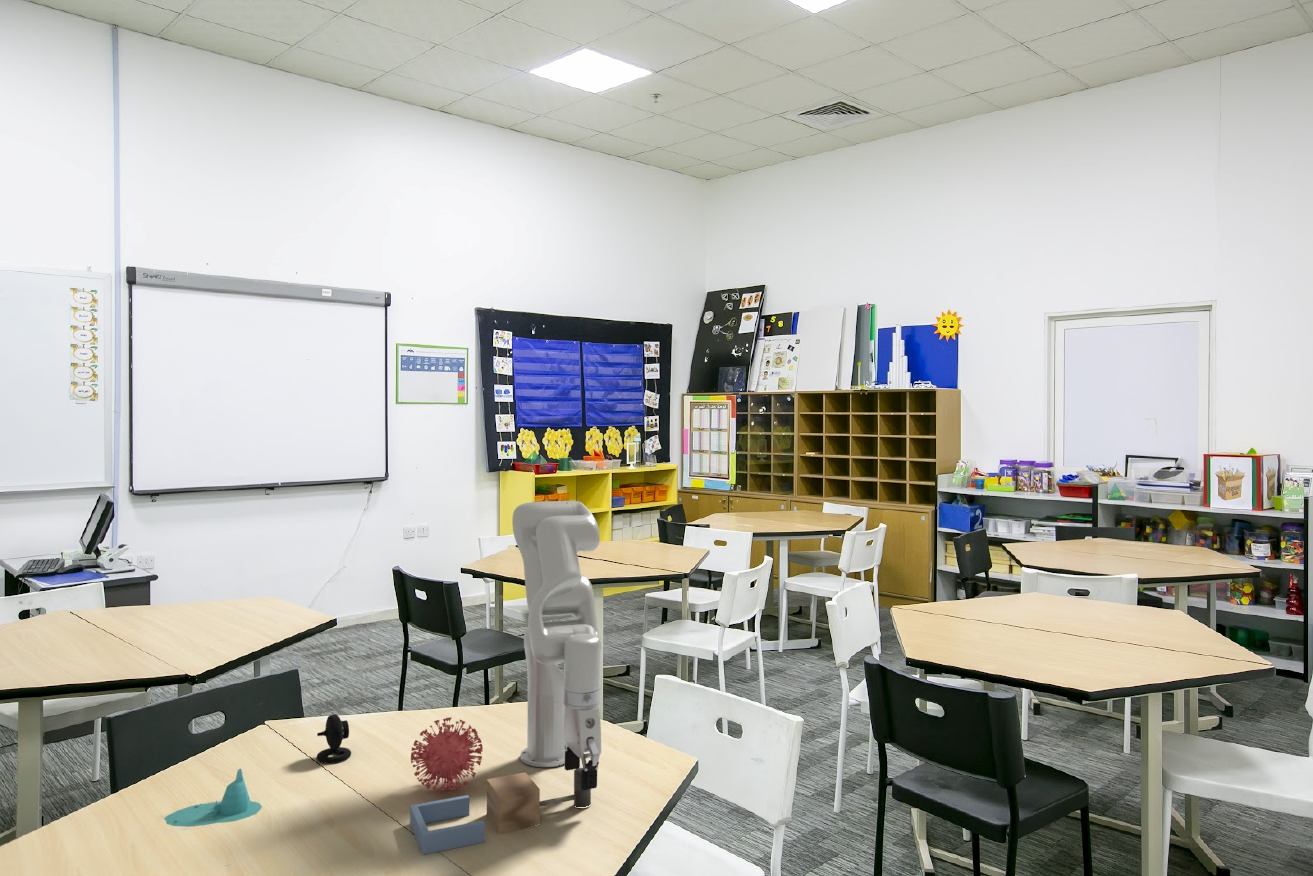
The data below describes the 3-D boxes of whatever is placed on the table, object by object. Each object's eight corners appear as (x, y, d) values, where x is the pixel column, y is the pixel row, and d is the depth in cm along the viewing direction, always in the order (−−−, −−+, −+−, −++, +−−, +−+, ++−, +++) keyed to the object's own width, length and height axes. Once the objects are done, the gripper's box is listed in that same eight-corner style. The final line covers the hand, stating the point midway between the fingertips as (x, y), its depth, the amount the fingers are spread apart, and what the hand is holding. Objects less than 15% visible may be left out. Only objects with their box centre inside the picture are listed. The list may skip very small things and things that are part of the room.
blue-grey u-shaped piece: (422, 854, 151) (422, 835, 151) (410, 823, 163) (410, 805, 163) (484, 842, 155) (484, 823, 155) (467, 812, 168) (468, 795, 168)
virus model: (495, 781, 183) (495, 712, 183) (457, 809, 169) (457, 735, 169) (436, 771, 188) (437, 705, 188) (395, 798, 174) (396, 726, 174)
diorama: (166, 807, 170) (166, 765, 170) (273, 796, 175) (273, 755, 175) (146, 835, 158) (147, 789, 158) (262, 822, 164) (262, 778, 164)
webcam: (354, 760, 194) (355, 716, 194) (321, 767, 190) (321, 722, 190) (346, 749, 201) (346, 707, 201) (313, 756, 197) (313, 713, 197)
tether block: (499, 833, 159) (499, 796, 159) (486, 814, 167) (486, 779, 167) (598, 812, 168) (598, 777, 168) (582, 795, 176) (582, 761, 176)
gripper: (615, 707, 165) (613, 793, 166) (584, 680, 180) (582, 759, 181) (579, 713, 162) (577, 800, 162) (550, 685, 177) (549, 765, 178)
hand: (580, 778), depth 172 cm, fingers open, 9 cm apart
